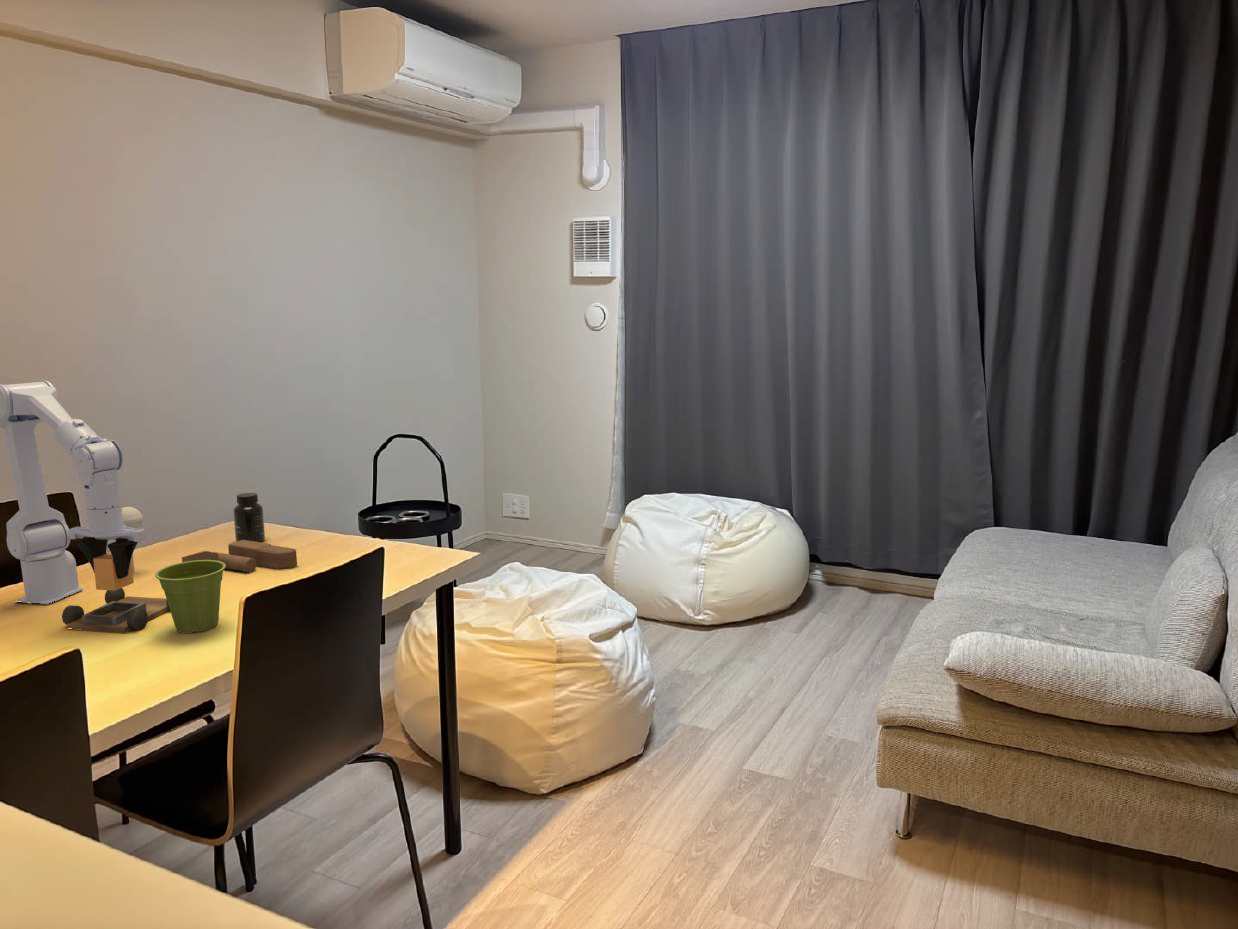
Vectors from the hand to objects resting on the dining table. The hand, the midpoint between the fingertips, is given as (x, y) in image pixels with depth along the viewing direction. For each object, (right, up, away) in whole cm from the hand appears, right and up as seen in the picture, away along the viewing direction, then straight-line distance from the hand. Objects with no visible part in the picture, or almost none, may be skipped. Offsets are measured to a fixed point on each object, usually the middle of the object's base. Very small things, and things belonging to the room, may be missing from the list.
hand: (112, 576), depth 174 cm
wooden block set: (+11, -3, +32) cm, 34 cm away
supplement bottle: (+4, +2, +56) cm, 56 cm away
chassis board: (+1, -8, +3) cm, 9 cm away
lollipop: (-12, -3, +31) cm, 33 cm away
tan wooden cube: (0, -2, +1) cm, 2 cm away
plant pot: (+17, -9, -3) cm, 20 cm away
